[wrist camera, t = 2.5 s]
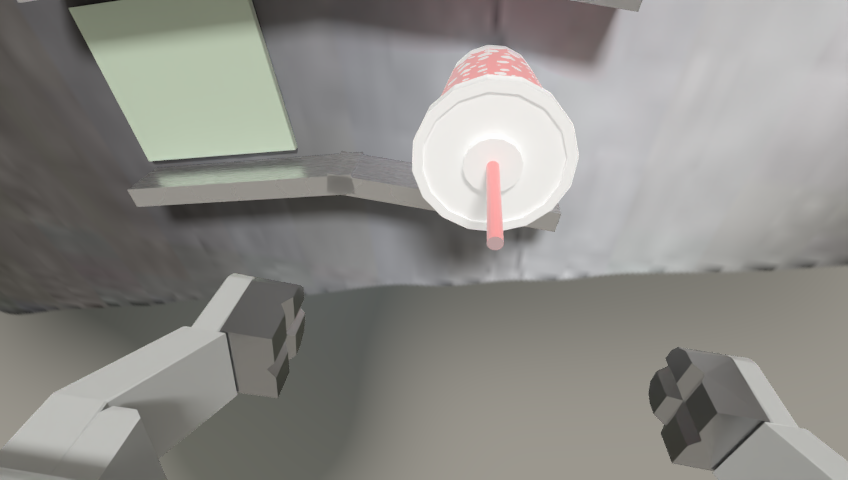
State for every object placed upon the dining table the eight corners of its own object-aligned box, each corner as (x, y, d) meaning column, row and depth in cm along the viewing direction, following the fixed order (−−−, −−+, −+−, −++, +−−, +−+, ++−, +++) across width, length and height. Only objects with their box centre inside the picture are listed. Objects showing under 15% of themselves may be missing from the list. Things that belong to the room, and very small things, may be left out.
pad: (245, -19, 22) (242, -18, 21) (297, 147, 27) (295, 149, 26) (73, 7, 23) (68, 8, 23) (152, 158, 28) (148, 161, 28)
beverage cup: (494, 163, 26) (502, 348, 15) (411, 99, 24) (346, 251, 13) (574, 80, 23) (663, 234, 11) (485, -1, 21) (484, 85, 10)
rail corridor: (630, -29, 20) (650, -22, 17) (532, 247, 29) (537, 277, 27) (23, -129, 20) (-41, -137, 18) (119, 175, 29) (86, 198, 27)
